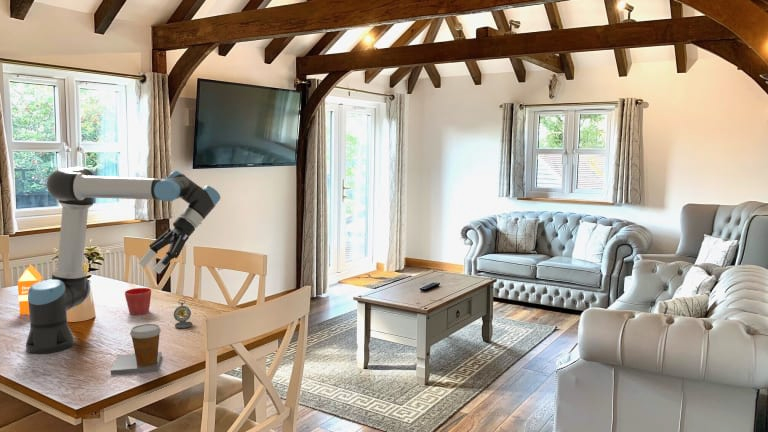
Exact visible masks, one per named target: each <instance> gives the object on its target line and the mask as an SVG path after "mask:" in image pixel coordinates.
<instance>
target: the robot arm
mask: <svg viewBox="0 0 768 432" xmlns="http://www.w3.org/2000/svg"><path fill="white" fill-rule="evenodd" d="M46 188H47V191H48V193H49V195H50V196H51V197H53V198H54V199H56V200H58V203H59V205H61V206H62V209H61V222H60V231H59V232H60V233H59V234H60V235H59V245H58V256H57V268H56V269H55V270H53V271H52V272H51V273H52V274H51V279H46V280H42V282H38V283H35V284H33V285H32V286H31V287H30V288H29V290H28V303H29V314H28V315H29V324H30V325H29V326H30V327H29V328H30V329H29V332H28V335H27V338H26V339H27V340H26V343H25V349H26V351H27V352H28V353H30V354H50V353H55V352H60V351H64V350H67V349H69V348H71V347H72V346H74V344H75V341H74V335H73V333H72V330H71V329H70V327H69V324H68V316H67V311H69V310H70V309H71V310H72V309H73V308H75V307H77V306H79V305H80V304H82V303H83V302H84V301H86V299H88V297H89V294H90V291H91V286H90V282H89V281H88V278H87V272H85V270H84V268H83V266H84V258H85V257H84V256H85V245H86V235H87V225H88V215H89V208H91V207H92V206H93V205H94V200H95V199H119V200H121V199H123V200H124V199H125V200H127V199H128V200H151V201H152V200H154V201H155V200H156V201H162V202H173V201H175V200H177V199H181V200H183V201H184V202H186V203H187V204H188V206H186V207H185V209H184V210H182V212H181V213H180V215H179V216H177V218H176V219H175V220H174V221H173V222H172V226H173V227H174V228H173V229H171V228H168V229H167V230H165V232H164V233H162V234H161V235H160V236H159V237H157V239H155V240H154V241H152V242H151V243H150V244H149V245H148V246H149V249H148V251H146V253H145V254H144V256H142V257H141V259H140V260H139V261H138V262H137V263H138V264H139V265H141V266H142V267H143V268H145V267H147V265H148V264H149V263H150V262H151V260H153V258H154V257H155V256H156V255H157V254H158V251H160V250H162V249H163V248H165V247H166V246H168V245H169V248H168V251H167V252H165V254H164V255H163V256H162V258H161V259H159V261H158V262H157V263H156V264H155V266H154V267H153V268H152V270H153V271H154V272H156V273H157V274H158V275H160V274H161V273H162V272H163V270H164V269H165V268H166V267H167V265H168V264H169V263H170V262H171V261H172V260H173V259H177V258H178V257H179V256H180V254H181V252H182V250H183V248H184V246H185V244H186V242H187V241H188V240H189V238H190V236H191V235H193V233H194V232H195V230H196V228H198V227H199V226H200V225H201V224H202V222H203V221H204V220H205V219H206V218H207V216H208V215H209V214H210V213H211V212H212V210H214V208H215V207H216V205H217V204H218V203H219V201H221V194H220V193H219V191H217V190H216V189H215V188H214V187H212V186H210V185H205V186H204V187H203V186H200V185H198V184H197V183H195V182H194V181H193V180H191V179H190V178H188V177H187V176H186V175H185V174H184V173H181V172H180V171H179V170H173V172H171V173H170V174H169V175H168V176H167V177H166V178H150V177H127V176H126V177H124V176H123V177H122V176H121V177H120V176H119V177H118V176H99V175H98V174H97V173H96V172H95V171H94V170H92V169H91V168H88V167H83V166H73V167H66V168H59V169H57V170H55V171H53V172H52V173H51V174H50V175H48V178H47V182H46Z"/></svg>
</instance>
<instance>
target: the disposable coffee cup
mask: <svg viewBox="0 0 768 432" xmlns="http://www.w3.org/2000/svg"><path fill="white" fill-rule="evenodd" d="M161 331H162V329H161V328H160V325H159V324H156V323H143V324H138V325H135V326H132V327H131V329H130V332H129V335H130V337H131V340H132V341H131V342H132V344H133V351H134V354H135V356H136V361H137V365H139V366H149V365H153V364H155V363H157V358H158V352H159V344H160V334H161Z"/></svg>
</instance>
